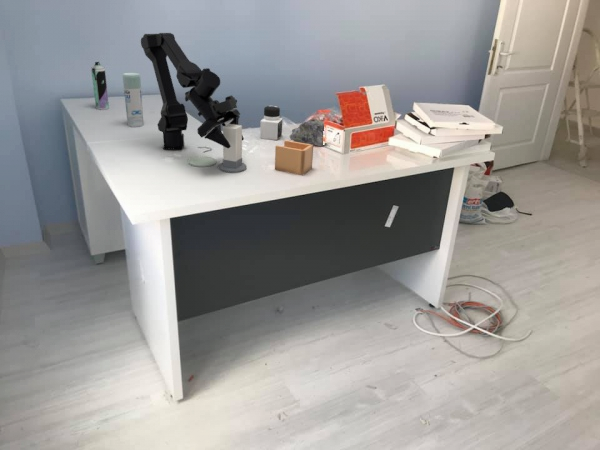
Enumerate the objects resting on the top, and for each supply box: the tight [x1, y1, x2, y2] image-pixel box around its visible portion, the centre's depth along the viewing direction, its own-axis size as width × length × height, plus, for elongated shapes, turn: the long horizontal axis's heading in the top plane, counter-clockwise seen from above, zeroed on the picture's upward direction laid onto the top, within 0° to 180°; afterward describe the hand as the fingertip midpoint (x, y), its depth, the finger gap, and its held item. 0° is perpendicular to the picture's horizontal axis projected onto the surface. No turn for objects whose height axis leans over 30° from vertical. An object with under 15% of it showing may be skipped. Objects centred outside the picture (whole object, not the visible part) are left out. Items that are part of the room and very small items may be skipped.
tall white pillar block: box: [222, 124, 243, 169], centre depth 159 cm, size 5×5×13 cm
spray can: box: [90, 61, 110, 111], centre depth 219 cm, size 6×6×20 cm
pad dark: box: [217, 161, 247, 174], centre depth 162 cm, size 9×9×1 cm
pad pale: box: [187, 155, 217, 168], centre depth 165 cm, size 9×9×1 cm
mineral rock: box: [289, 117, 325, 147], centre depth 190 cm, size 13×11×10 cm
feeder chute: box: [274, 139, 314, 176], centre depth 163 cm, size 10×8×8 cm
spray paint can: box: [122, 72, 145, 128], centre depth 197 cm, size 6×6×20 cm
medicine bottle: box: [259, 105, 283, 141], centre depth 194 cm, size 7×7×12 cm
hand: (236, 143), depth 158 cm, fingers open, 9 cm apart
